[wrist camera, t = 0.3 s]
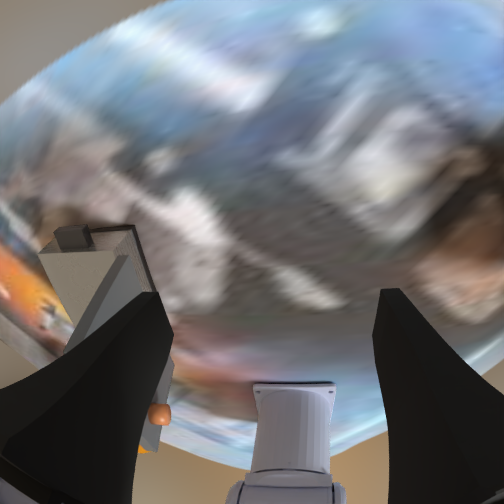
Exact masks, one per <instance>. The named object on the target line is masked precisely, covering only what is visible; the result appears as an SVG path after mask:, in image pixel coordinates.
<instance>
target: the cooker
mask: <svg viewBox="0 0 504 504" xmlns="http://www.w3.org/2000/svg"><path fill="white" fill-rule="evenodd" d="M53 233H54V235H55V238H54V239H53V240H52V241H51V242H50V243H49V244H48V245H46V246H45V247H44V248H43V249H42V250H41V251H40V252H39V253H38V256H39V258H40V261H41V263H42V265H43V267H44V269H45V271H46V273H47V275H48V277H49V280H50V282H51V284H52V286H53V287H54V289H55V291H56V293H57V295H58V297H59V299H60V301H61V303H62V305H63V306H64V308H65V310H66V312H67V314H68V315H69V317H70V319H71V321H72V322H73V324H74V326H75V328H76V326H77V324H78V322H79V321H80V319H81V317H82V315H83V313H84V311H85V310H86V308H87V306H88V304H89V303H90V301H91V299H92V297H93V296H94V294H95V292H96V290H97V289H98V287H99V285H100V284H101V282H102V280H103V279H104V277H105V275H106V274H107V272H108V270H109V269H110V267H111V266H112V264H113V262H114V261H115V259H116V258H117V256H120V255H130V258H131V260H132V263H133V266H134V269H135V272H136V274H137V277H138V280H139V282H140V285H141V287H142V290H143V292H157V291H156V288H155V286H154V283H153V280H152V277H151V274H150V271H149V268H148V265H147V262H146V259H145V256H144V253H143V250H142V247H141V244H140V241H139V238H138V235H137V231H136V228H135V225H132V226H120V227H108V228H97V229H89V228H88V225H87V224H86V225H77V226H68V227H59V228H58V229H57V230H56V231H54V232H53Z"/></svg>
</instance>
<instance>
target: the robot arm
mask: <svg viewBox="0 0 504 504" xmlns="http://www.w3.org/2000/svg"><path fill="white" fill-rule="evenodd" d="M173 337H174V333H173V331H172V328H171V325H170V323H169V320H168V317H167V315H166V312H165V309H164V307H163V304H162V301H161V298H160V296H159V293H158V292H142V293H140V294H139V295H137V296H136V297H135V298H134V299H132V300H131V301H130V302H129V303H127V304H126V305H125V306H124V307H123V308H121V309H120V310H119V311H118V312H117V313H116V314H114V315H113V316H112V317H111V318H110V319H109V320H107V321H106V322H105V323H104V324H103V325H101V326H100V327H99V328H98V329H97V330H95V331H94V332H93V333H92V334H90V335H89V336H88V337H87V338H85V339H84V340H83V341H82V342H80V343H79V344H78V345H77V346H75V347H74V348H73V349H71V350H70V351H68V352H67V353H66V354H64V355H63V356H61V357H60V358H58V359H57V360H55V361H54V362H52V363H51V364H49V365H47V366H46V367H44V368H42V369H40V370H39V371H37V372H35V373H34V374H32V375H30V376H28V377H26V378H24V379H23V380H20V381H18V382H16V383H14V384H12V385H9V386H7V387H5V388H2V389H0V504H132V489H133V479H134V472H135V463H136V458H137V453H138V448H139V443H140V439H141V434H142V430H143V426H144V422H145V419H146V416H147V413H148V410H149V407H150V404H151V402H152V399H153V397H154V394H155V392H156V389H157V387H158V384H159V381H160V379H161V376H162V374H163V371H164V369H165V366H166V363H167V361H168V357H169V353H170V350H171V345H172V341H173ZM372 337H373V347H374V356H375V364H376V369H377V374H378V378H379V383H380V388H381V393H382V398H383V403H384V408H385V413H386V419H387V426H388V436H389V493H388V504H504V395H503V394H502V393H501V392H499V391H498V390H497V389H495V388H494V387H493V386H491V385H490V384H489V383H488V382H487V381H486V380H484V379H483V378H482V377H481V376H480V375H479V374H478V373H477V372H476V371H474V370H473V369H472V368H471V367H470V366H469V365H468V364H467V363H466V362H465V361H464V360H463V359H462V358H461V357H460V356H459V355H458V354H457V353H456V352H455V351H454V350H453V349H452V348H451V347H450V346H449V345H448V344H447V343H446V342H445V341H444V340H443V338H442V337H441V336H440V335H439V334H438V333H437V332H436V330H435V329H434V328H433V327H432V326H431V325H430V324H429V323H428V321H427V320H426V319H425V318H424V317H423V315H422V314H421V313H420V312H419V311H418V310H417V308H416V307H415V306H414V305H413V304H412V302H411V301H410V300H409V299H408V298H407V297H406V295H405V294H404V293H403V292H402V291H401V290H400V289H399V288H391V289H381V291H380V297H379V303H378V308H377V314H376V319H375V324H374V329H373V334H372ZM253 393H254V397H255V402H256V407H257V411H258V423H257V431H256V438H255V445H254V451H253V458H252V465H251V472H250V473H246V475H245V481H242V480H240V481H238V482H237V483H236V484H234V485H233V486H232V487H231V488H230V490H229V492H228V495H227V499H226V503H225V504H347V503H346V491H345V488H344V487H343V486H341V485H340V483H339V482H336V483H332V474H330V421H331V416H332V411H333V405H334V400H335V394H336V385H335V384H254V385H253Z"/></svg>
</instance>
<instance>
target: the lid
mask: <svg viewBox="0 0 504 504" xmlns="http://www.w3.org/2000/svg"><path fill="white" fill-rule="evenodd" d="M142 292H143V290H142V287H141V285H140V282H139V280H138V277H137V274H136V272H135V269H134V266H133V263H132V260H131V258H130V255H120V256H117V258H116V259H115V261H114V262H113V264H112V266H111V267H110V269H109V270H108V272H107V274H106V275H105V277H104V279H103V280H102V282H101V284H100V285H99V287H98V289H97V290H96V292H95V294H94V296H93V297H92V299H91V301H90V303H89V304H88V306H87V308H86V310H85V311H84V313H83V315H82V317H81V319H80V321H79V322H78V324H77V326H76V328H75V330H74V332H73V334H72V336H71V337H70V339H69V341H68V343H67V345H66V347H65V349H64V351H63V353H64V354H66V353H67V352H68V351H70V350H71V349H73V348H74V347H75V346H77V345H78V344H79V343H80V342H82V341H83V340H84V339H85V338H87V337H88V336H89V335H90V334H92V333H93V332H94V331H95V330H97V329H98V328H99V327H100V326H101V325H103V324H104V323H105V322H106V321H107V320H109V319H110V318H111V317H112V316H113V315H114V314H116V313H117V312H118V311H119V310H120V309H121V308H123V307H124V306H125V305H126V304H127V303H129V302H130V301H131V300H132V299H134V298H135V297H136V296H137V295H139V294H140V293H142ZM173 369H174V363H173V361H172V358H171V356H170V354H169V357H168V361H167V363H166V366H165V369H164V371H163V374H162V376H161V379H160V381H159V384H158V387H157V389H156V392H155V394H154V397H153V399H152V402H151V404H150V407H149V410H148V413H147V416H146V419H145V422H144V426H143V430H142V434H141V439H140V443H139V444H140V445H141V446H142V447H143V448H144V449H145V450H146V451H152V452H157V451H158V445H159V440H160V434H161V429H162V425H169V424H170V421H171V409H170V406H169V405H168V404H166V403H167V398H168V393H169V388H170V383H171V379H172V374H173Z"/></svg>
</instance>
